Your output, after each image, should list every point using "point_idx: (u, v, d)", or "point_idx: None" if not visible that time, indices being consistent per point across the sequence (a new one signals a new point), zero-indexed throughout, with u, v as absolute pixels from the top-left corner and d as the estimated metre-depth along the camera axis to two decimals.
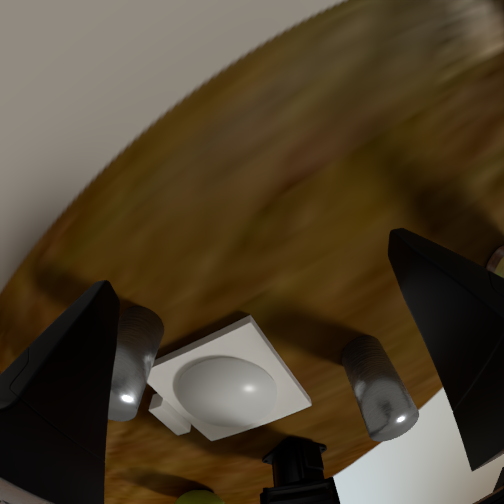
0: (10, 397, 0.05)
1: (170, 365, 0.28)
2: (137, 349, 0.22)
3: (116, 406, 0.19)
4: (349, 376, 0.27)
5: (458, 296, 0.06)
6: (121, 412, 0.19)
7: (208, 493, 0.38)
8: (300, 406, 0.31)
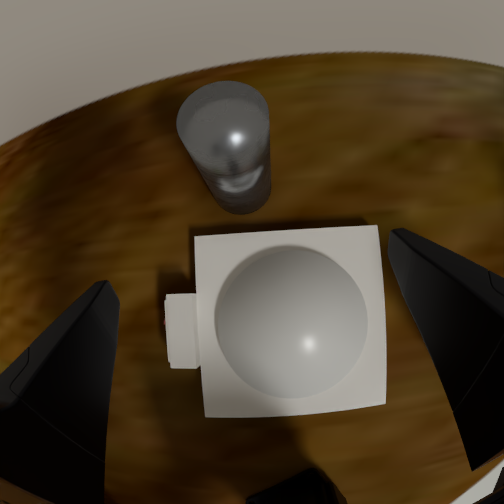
0: (10, 397, 0.05)
1: (248, 241, 0.22)
2: None
3: (228, 126, 0.14)
4: None
5: (458, 296, 0.06)
6: (226, 137, 0.14)
7: None
8: (372, 398, 0.20)
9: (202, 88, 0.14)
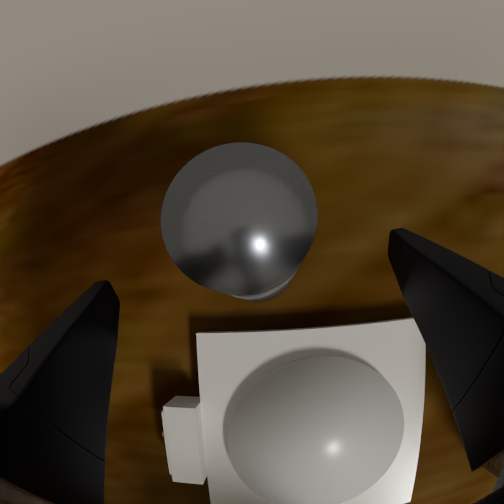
0: (10, 397, 0.05)
1: (266, 342, 0.17)
2: None
3: (249, 234, 0.09)
4: None
5: (458, 296, 0.06)
6: (246, 257, 0.08)
7: None
8: (397, 499, 0.14)
9: (203, 154, 0.09)
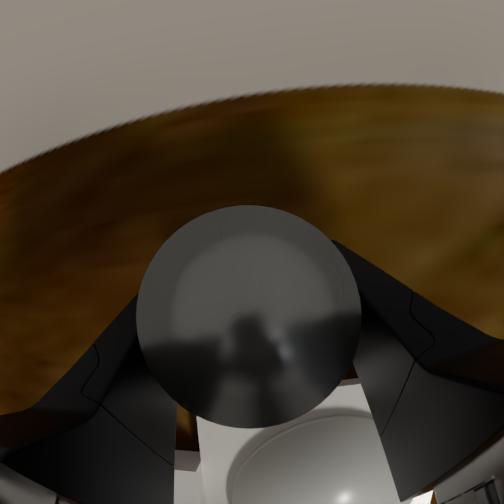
0: (85, 404, 0.05)
1: None
2: None
3: (262, 352, 0.06)
4: None
5: (371, 320, 0.06)
6: (259, 384, 0.06)
7: None
8: None
9: (193, 224, 0.06)
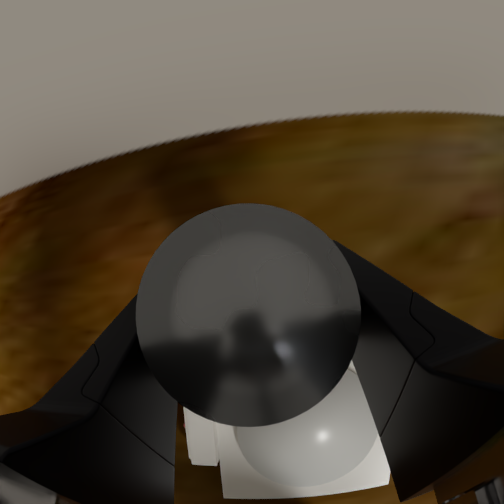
0: (86, 405, 0.05)
1: None
2: None
3: (262, 350, 0.06)
4: None
5: (371, 320, 0.06)
6: (258, 382, 0.06)
7: None
8: (376, 481, 0.18)
9: (192, 223, 0.06)
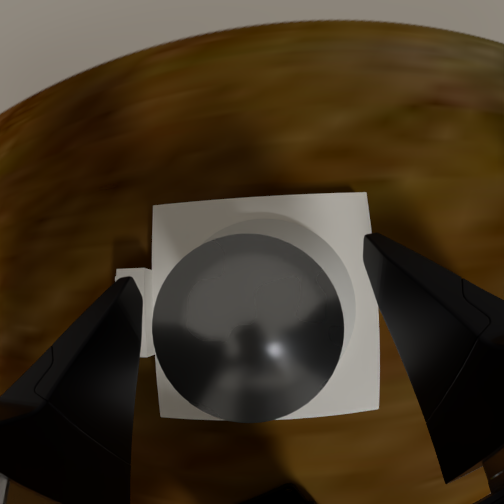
0: (36, 401, 0.05)
1: (213, 209, 0.19)
2: None
3: (260, 359, 0.07)
4: None
5: (427, 305, 0.06)
6: (256, 386, 0.07)
7: None
8: (361, 402, 0.16)
9: (199, 250, 0.07)
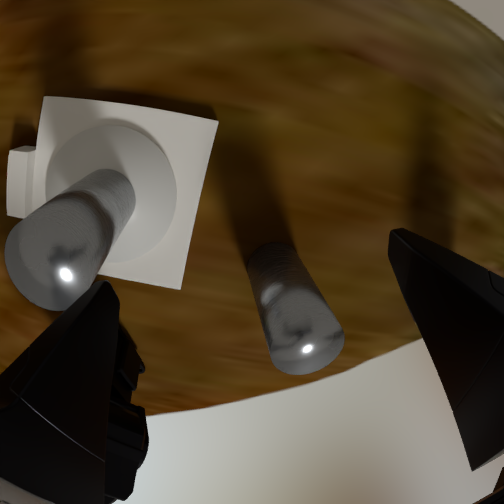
0: (10, 397, 0.05)
1: (87, 108, 0.18)
2: (114, 224, 0.15)
3: (50, 281, 0.11)
4: (261, 271, 0.23)
5: (458, 296, 0.06)
6: (50, 293, 0.12)
7: None
8: (168, 280, 0.24)
9: (24, 221, 0.10)
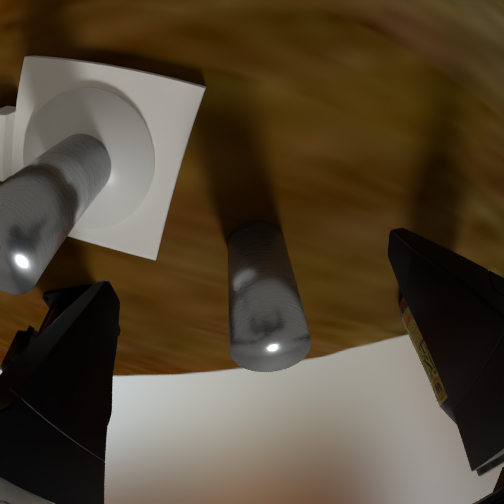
0: (10, 397, 0.05)
1: (66, 69, 0.15)
2: (76, 201, 0.14)
3: (4, 267, 0.10)
4: (238, 252, 0.21)
5: (458, 296, 0.06)
6: (4, 277, 0.10)
7: None
8: (143, 250, 0.23)
9: None
